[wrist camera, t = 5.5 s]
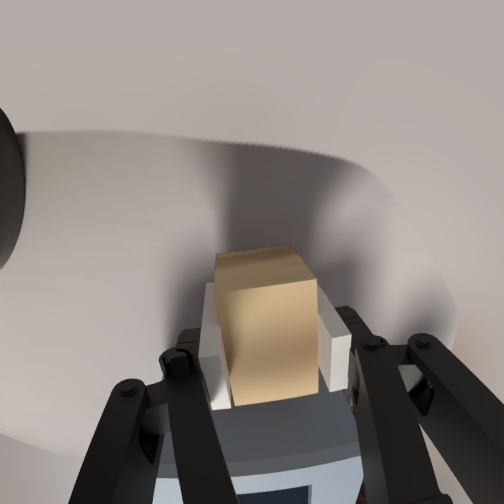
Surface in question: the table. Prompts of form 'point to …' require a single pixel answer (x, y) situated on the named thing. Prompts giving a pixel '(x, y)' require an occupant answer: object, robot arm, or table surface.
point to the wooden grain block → (267, 323)
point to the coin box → (282, 451)
